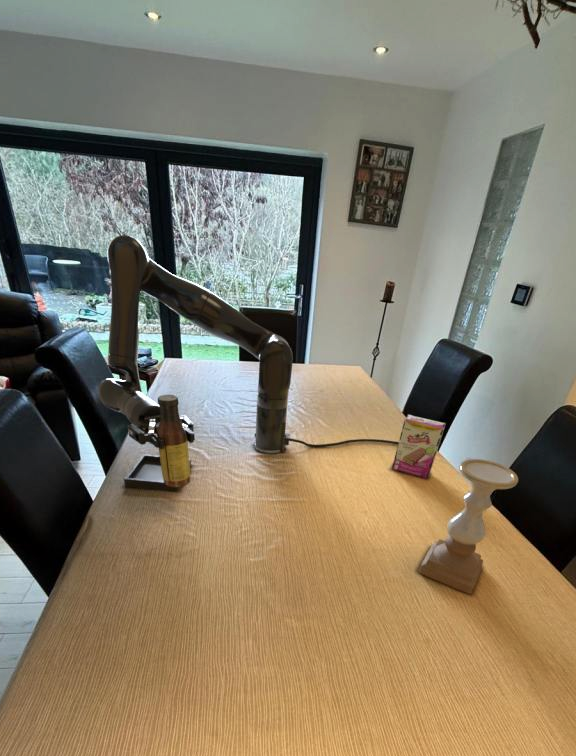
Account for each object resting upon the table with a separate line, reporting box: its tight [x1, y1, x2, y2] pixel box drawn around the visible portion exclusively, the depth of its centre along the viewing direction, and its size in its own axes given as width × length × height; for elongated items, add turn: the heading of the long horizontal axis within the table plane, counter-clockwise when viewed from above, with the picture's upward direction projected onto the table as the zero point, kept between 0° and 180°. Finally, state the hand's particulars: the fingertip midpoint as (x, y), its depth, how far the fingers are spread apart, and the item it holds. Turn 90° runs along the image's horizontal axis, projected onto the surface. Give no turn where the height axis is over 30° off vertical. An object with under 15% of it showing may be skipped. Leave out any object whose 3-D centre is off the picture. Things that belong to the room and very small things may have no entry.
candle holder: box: [418, 458, 519, 595], centre depth 82 cm, size 11×11×24 cm
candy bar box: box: [391, 414, 447, 480], centre depth 122 cm, size 11×5×16 cm, turn 65°
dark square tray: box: [123, 453, 192, 492], centre depth 112 cm, size 14×15×2 cm
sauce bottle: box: [157, 394, 191, 488], centre depth 90 cm, size 6×6×20 cm
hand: (177, 441), depth 88 cm, fingers closed on sauce bottle, 6 cm apart
